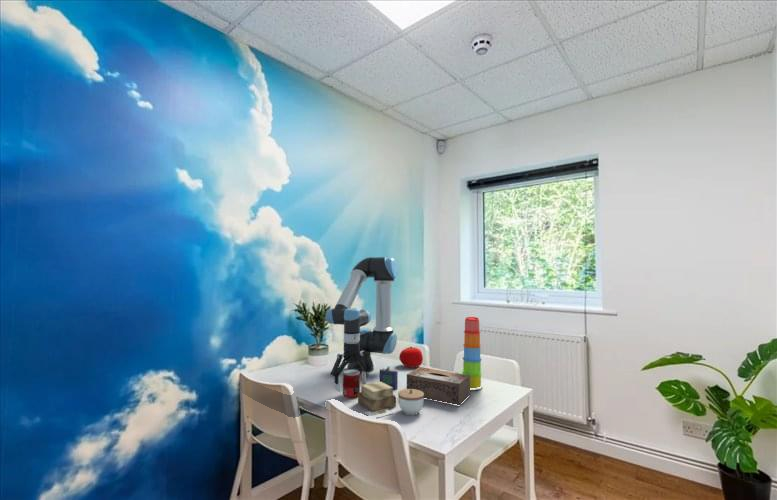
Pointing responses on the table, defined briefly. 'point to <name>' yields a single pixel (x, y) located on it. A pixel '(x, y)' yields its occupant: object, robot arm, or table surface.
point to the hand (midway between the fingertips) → (351, 388)
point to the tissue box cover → (440, 384)
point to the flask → (389, 377)
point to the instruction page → (379, 413)
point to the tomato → (411, 357)
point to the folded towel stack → (376, 396)
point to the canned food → (351, 383)
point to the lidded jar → (411, 400)
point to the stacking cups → (472, 352)
